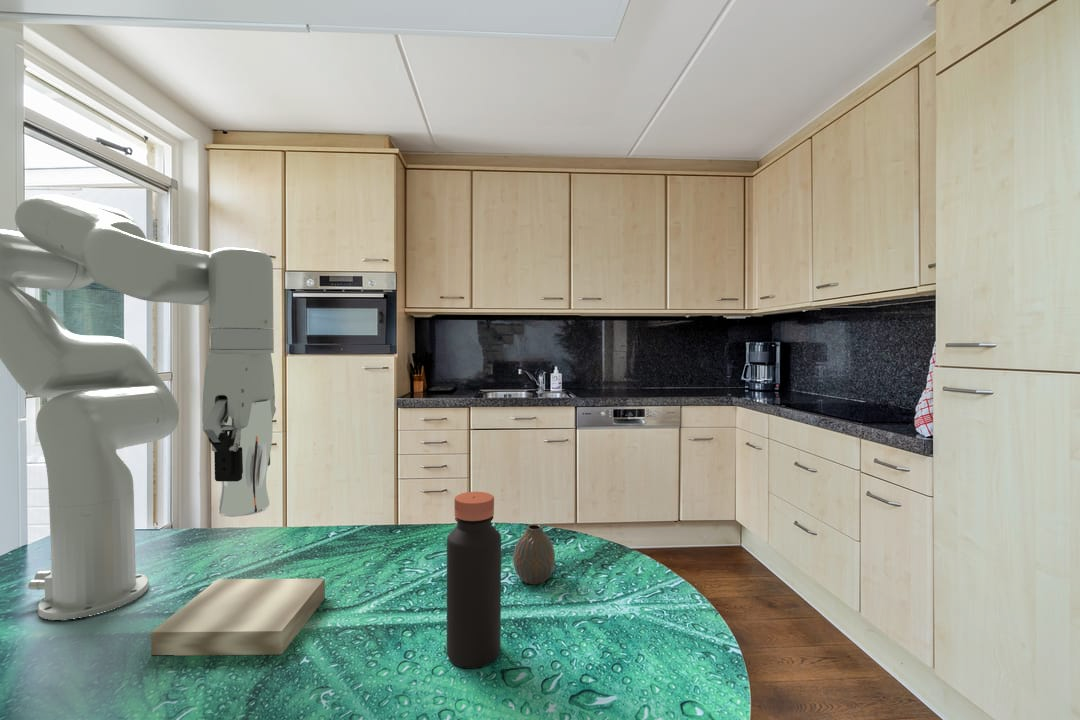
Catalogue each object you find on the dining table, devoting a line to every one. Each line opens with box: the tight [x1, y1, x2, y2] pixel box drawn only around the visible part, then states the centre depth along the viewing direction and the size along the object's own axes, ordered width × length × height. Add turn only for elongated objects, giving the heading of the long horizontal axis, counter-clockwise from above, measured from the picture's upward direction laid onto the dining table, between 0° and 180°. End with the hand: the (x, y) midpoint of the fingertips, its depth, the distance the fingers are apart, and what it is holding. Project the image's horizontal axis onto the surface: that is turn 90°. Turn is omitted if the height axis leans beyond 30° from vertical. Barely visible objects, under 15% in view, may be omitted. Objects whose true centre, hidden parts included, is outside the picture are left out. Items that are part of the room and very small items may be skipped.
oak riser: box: [150, 578, 326, 656], centre depth 71 cm, size 16×14×3 cm
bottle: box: [446, 491, 502, 669], centre depth 65 cm, size 7×7×20 cm
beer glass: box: [218, 399, 273, 518], centre depth 70 cm, size 7×7×15 cm
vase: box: [512, 523, 556, 585], centre depth 85 cm, size 7×7×9 cm
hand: (244, 472), depth 70 cm, fingers closed on beer glass, 6 cm apart
